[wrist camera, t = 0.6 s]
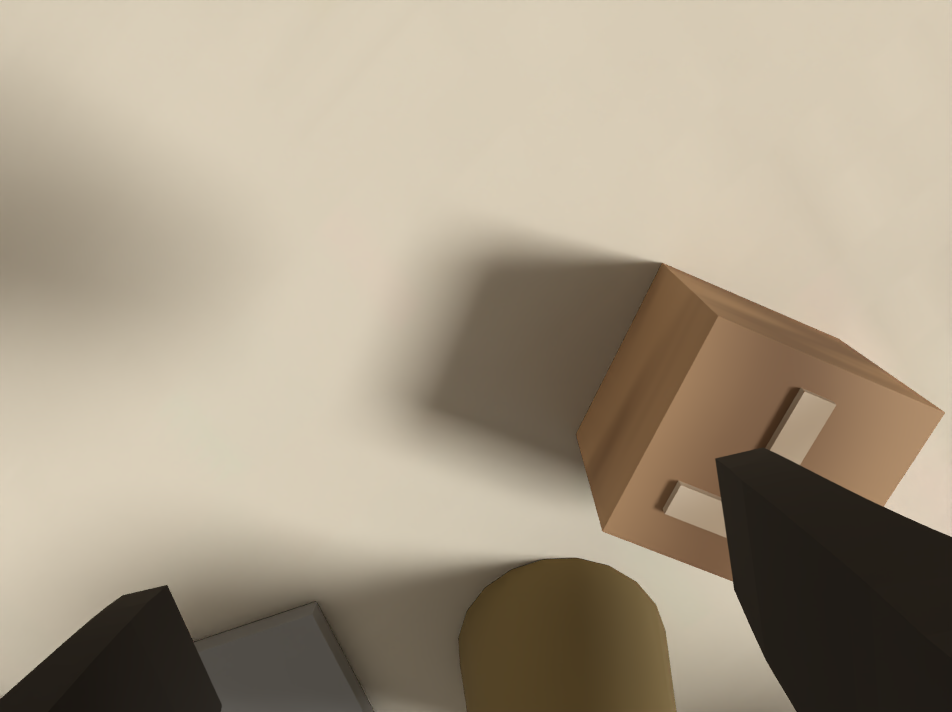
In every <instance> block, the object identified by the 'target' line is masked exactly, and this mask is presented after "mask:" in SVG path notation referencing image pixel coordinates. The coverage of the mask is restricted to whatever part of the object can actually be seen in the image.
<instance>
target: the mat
mask: <svg viewBox="0 0 952 712" xmlns="http://www.w3.org/2000/svg"><path fill="white" fill-rule="evenodd" d="M193 643H194V645H195V647H196V649H197V651H198V653H199V656H200V658H201V660H202V662H203V664H204V667H205V669H206V671H207V673H208V675H209V678H210V680H211V682H212V684H213V686H214V689H215V691H216V693H217V695H218V697H219V699H220V702H221V704H222V708H221V712H374V711H373V709H372V707H371V705H370V703H369V701H368V699H367V697H366V696H365V694H364V692H363V690H362V688H361V686H360V684H359V682H358V680H357V678H356V676H355V674H354V673H353V671H352V669H351V667H350V665H349V663H348V661H347V659H346V657H345V655H344V653H343V651H342V650H341V648H340V646H339V644H338V642H337V640H336V638H335V636H334V634H333V632H332V630H331V628H330V627H329V625H328V623H327V621H326V619H325V617H324V615H323V613H322V611H321V609H320V607H319V605H318V604H317V602H313V603H310V604H307V605H304V606H301V607H298V608H295V609H292V610H289V611H286V612H283V613H280V614H277V615H274V616H271V617H268V618H265V619H262V620H259V621H256V622H253V623H250V624H247V625H244V626H241V627H238V628H235V629H232V630H229V631H226V632H223V633H220V634H217V635H214V636H211V637H208V638H205V639H202V640H199V641H196V642H193Z"/></svg>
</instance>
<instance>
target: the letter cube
mask: <svg viewBox="0 0 952 712" xmlns="http://www.w3.org/2000/svg"><path fill="white" fill-rule="evenodd" d="M944 414H945V412H944V411H942V410H941V409H939V408H938V407H936V406H935V405H933V404H932V403H931V402H929V401H928V400H926V399H925V398H923V397H922V396H920V395H919V394H918V393H916V392H915V391H913V390H912V389H910V388H909V387H907V386H906V385H905V384H903V383H902V382H900V381H899V380H897V379H896V378H894V377H893V376H892V375H890V374H889V373H887V372H886V371H884V370H883V369H881V368H880V367H879V366H877V365H876V364H874V363H873V362H871V361H870V360H868V359H867V358H866V357H864V356H863V355H861V354H860V353H858V352H857V351H855V350H854V349H853V348H851V347H850V346H848V345H847V344H845V343H844V342H842V341H841V340H840V339H838V338H836V337H833V336H831V335H829V334H826V333H824V332H822V331H819V330H817V329H815V328H812V327H810V326H808V325H805V324H803V323H801V322H798V321H796V320H794V319H791V318H789V317H787V316H785V315H782V314H780V313H778V312H775V311H773V310H771V309H768V308H766V307H764V306H761V305H759V304H757V303H754V302H752V301H750V300H747V299H745V298H743V297H740V296H738V295H736V294H733V293H731V292H729V291H727V290H724V289H722V288H720V287H717V286H715V285H713V284H710V283H708V282H706V281H703V280H701V279H699V278H696V277H694V276H692V275H689V274H687V273H685V272H682V271H680V270H678V269H675V268H673V267H671V266H668V265H666V264H664V263H662V264H661V266H660V268H659V270H658V272H657V274H656V276H655V278H654V280H653V282H652V284H651V286H650V288H649V290H648V292H647V294H646V296H645V298H644V300H643V302H642V304H641V306H640V308H639V310H638V312H637V314H636V316H635V318H634V320H633V322H632V324H631V326H630V328H629V330H628V332H627V334H626V336H625V338H624V340H623V342H622V344H621V346H620V348H619V350H618V352H617V354H616V356H615V358H614V360H613V362H612V364H611V366H610V368H609V370H608V372H607V374H606V376H605V378H604V380H603V382H602V383H601V385H600V387H599V389H598V391H597V393H596V395H595V397H594V399H593V401H592V403H591V405H590V407H589V409H588V411H587V413H586V415H585V417H584V419H583V421H582V423H581V425H580V427H579V429H578V431H577V433H576V437H577V440H578V444H579V448H580V451H581V455H582V458H583V462H584V466H585V469H586V473H587V477H588V480H589V484H590V488H591V491H592V495H593V498H594V502H595V506H596V509H597V513H598V517H599V520H600V524H601V528H602V531H603V532H605V533H608V534H611V535H613V536H616V537H618V538H621V539H624V540H626V541H629V542H631V543H634V544H637V545H639V546H642V547H645V548H647V549H650V550H652V551H655V552H658V553H660V554H663V555H665V556H668V557H671V558H673V559H676V560H678V561H681V562H684V563H686V564H689V565H691V566H694V567H697V568H699V569H702V570H705V571H707V572H710V573H712V574H715V575H718V576H720V577H723V578H725V579H728V580H731V581H733V577H732V570H731V563H730V557H729V550H728V543H727V536H726V529H725V522H724V516H723V509H722V502H721V495H720V488H719V482H718V475H717V468H716V461H715V458H719V457H724V456H728V455H732V454H737V453H741V452H745V451H750V450H754V449H758V448H766V449H768V450H770V451H772V452H775V453H777V454H779V455H781V456H783V457H785V458H787V459H789V460H791V461H793V462H795V463H797V464H799V465H801V466H802V467H804V468H806V469H808V470H810V471H812V472H814V473H816V474H818V475H820V476H822V477H824V478H826V479H828V480H830V481H832V482H834V483H836V484H838V485H840V486H842V487H844V488H846V489H848V490H850V491H852V492H854V493H856V494H858V495H860V496H862V497H864V498H866V499H868V500H870V501H872V502H874V503H877V504H879V505H881V506H883V507H884V505H885V504H886V502H887V500H888V499H889V497H890V496H891V494H892V493H893V491H894V490H895V488H896V487H897V485H898V484H899V482H900V481H901V479H902V478H903V476H904V475H905V473H906V472H907V470H908V468H909V467H910V465H911V464H912V462H913V461H914V459H915V458H916V456H917V455H918V453H919V452H920V450H921V449H922V447H923V446H924V444H925V443H926V441H927V440H928V438H929V436H930V435H931V433H932V432H933V430H934V429H935V427H936V426H937V424H938V423H939V421H940V420H941V418H942V417H943V415H944Z"/></svg>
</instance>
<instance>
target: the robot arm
mask: <svg viewBox="0 0 952 712" xmlns="http://www.w3.org/2000/svg"><path fill="white" fill-rule="evenodd" d="M715 461H716V468H717V475H718V482H719V488H720V495H721V502H722V509H723V516H724V522H725V529H726V536H727V543H728V550H729V557H730V563H731V570H732V577H733V584H734V590H735V592H736V595H737V597H738V599H739V602H740V604H741V606H742V608H743V611H744V613H745V615H746V617H747V620H748V622H749V624H750V627H751V629H752V631H753V633H754V635H755V638H756V640H757V642H758V644H759V646H760V648H761V651H762V653H763V655H764V657H765V659H766V661H767V663H768V664H769V666H770V668H771V670H772V671H773V673H774V675H775V676H776V678H777V680H778V681H779V683H780V685H781V686H782V688H783V690H784V691H785V693H786V695H787V696H788V698H789V700H790V701H791V703H792V705H793V706H794V708H795V710H796V711H797V712H952V537H950V536H948V535H945V534H943V533H941V532H938V531H936V530H933V529H931V528H929V527H927V526H924V525H922V524H920V523H918V522H915V521H913V520H911V519H909V518H906V517H904V516H902V515H900V514H898V513H896V512H893V511H891V510H889V509H887V508H885V507H883V506H881V505H879V504H877V503H874V502H872V501H870V500H868V499H866V498H864V497H862V496H860V495H858V494H856V493H854V492H852V491H850V490H848V489H846V488H844V487H842V486H840V485H838V484H836V483H834V482H832V481H830V480H828V479H826V478H824V477H822V476H820V475H818V474H816V473H814V472H812V471H810V470H808V469H806V468H804V467H802V466H801V465H799V464H797V463H795V462H793V461H791V460H789V459H787V458H785V457H783V456H781V455H779V454H777V453H775V452H772V451H770V450H768V449H766V448H758V449H754V450H750V451H745V452H741V453H737V454H732V455H728V456H724V457H719V458H715ZM221 708H222V704H221V702H220V699H219V697H218V695H217V693H216V691H215V689H214V686H213V684H212V682H211V680H210V678H209V675H208V673H207V671H206V669H205V667H204V664H203V662H202V660H201V658H200V656H199V653H198V651H197V649H196V647H195V645H194V643H193V640H192V638H191V636H190V634H189V632H188V629H187V627H186V625H185V623H184V621H183V618H182V616H181V614H180V612H179V610H178V607H177V605H176V603H175V601H174V599H173V597H172V594H171V592H170V590H169V588H168V586H167V585H166V586H161V587H157V588H153V589H148V590H144V591H140V592H135V593H131V594H127V595H123V596H121V597H120V598H118V599H117V600H116V601H114V602H113V603H111V604H110V605H109V606H107V607H106V608H105V609H103V610H102V611H101V612H100V613H98V614H97V615H96V616H95V617H94V618H92V619H91V620H90V621H89V622H88V623H86V624H85V625H84V626H83V627H82V628H80V629H79V630H78V631H77V632H76V633H75V634H73V635H72V636H71V637H70V638H69V639H68V640H67V641H65V642H64V643H63V644H62V645H61V646H60V647H59V648H57V649H56V650H55V651H54V652H53V653H52V654H51V655H50V656H48V657H47V658H46V659H45V660H44V661H43V662H42V663H40V664H39V665H38V666H37V667H36V668H35V669H34V670H33V671H31V672H30V673H29V674H28V675H27V676H26V677H25V678H24V679H22V680H21V681H20V682H19V683H18V684H17V685H16V686H14V687H13V688H12V689H11V690H10V691H9V692H8V693H7V694H5V695H4V696H3V697H2V698H1V699H0V712H221Z"/></svg>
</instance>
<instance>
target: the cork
mask: <svg viewBox="0 0 952 712" xmlns="http://www.w3.org/2000/svg"><path fill="white" fill-rule="evenodd" d="M458 640H459V656H460V668H461V674H462V681H463V688H464V694H465V701H466V707H467V712H676V705H675V698H674V691H673V683H672V676H671V668H670V661H669V654H668V646H667V639H666V631H665V628H664V626H663V623H662V620H661V617H660V615H659V612H658V609H657V606H656V604H655V603H654V602H653V601H652V599H651V598H650V597H649V596H648V595H647V594H646V592H645V591H644V590H643V589H642V588H641V587H640V585H639V584H638V583H637V582H636V581H634V580H632V579H631V578H629V577H627V576H625V575H624V574H622V573H620V572H619V571H617V570H615V569H614V568H612V567H610V566H607V565H603V564H599V563H595V562H591V561H587V560H583V559H579V558H568V559H543V560H540V561H537V562H534V563H531V564H528V565H525V566H521V567H518V568H515V569H512V570H510V571H509V572H507V573H506V574H504V575H503V576H502V577H500V578H499V579H497V580H496V581H494V582H493V583H491V584H490V585H488V586H487V587H485V589H484V590H483V591H482V592H481V594H480V595H479V596H478V598H477V599H476V600H475V602H474V603H473V604H472V605H471V607H470V608H469V609H468V611H467V613H466V616H465V619H464V622H463V625H462V628H461V631H460V635H459V638H458Z"/></svg>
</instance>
